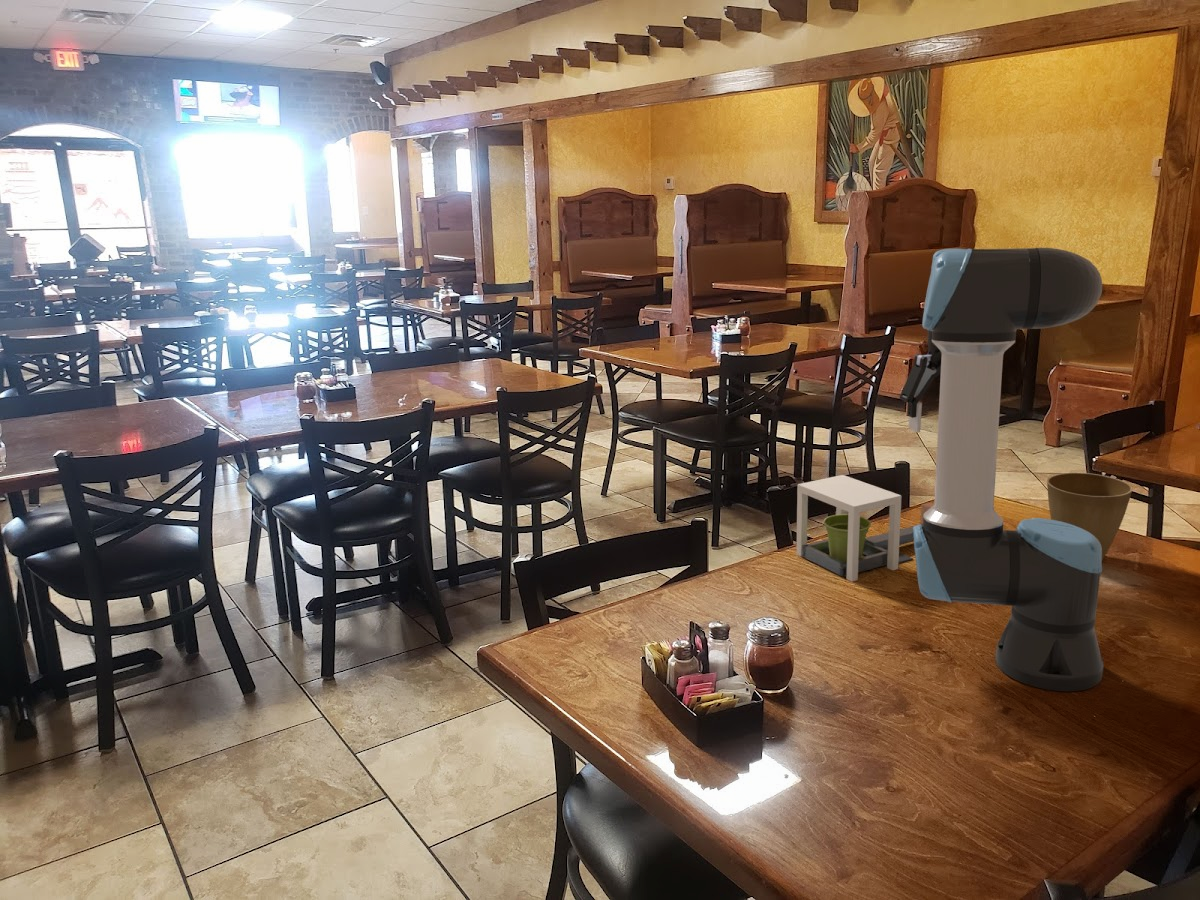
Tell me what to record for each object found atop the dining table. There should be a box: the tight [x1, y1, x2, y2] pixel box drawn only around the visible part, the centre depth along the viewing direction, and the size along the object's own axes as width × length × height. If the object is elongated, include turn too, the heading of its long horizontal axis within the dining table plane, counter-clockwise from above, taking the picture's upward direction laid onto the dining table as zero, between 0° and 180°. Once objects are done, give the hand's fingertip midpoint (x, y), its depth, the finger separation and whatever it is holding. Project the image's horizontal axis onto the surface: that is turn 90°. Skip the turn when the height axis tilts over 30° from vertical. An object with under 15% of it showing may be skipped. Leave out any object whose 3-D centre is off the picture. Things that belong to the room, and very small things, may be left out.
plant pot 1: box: [823, 513, 872, 562], centre depth 187 cm, size 9×9×9 cm
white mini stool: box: [796, 474, 914, 583], centre depth 188 cm, size 17×18×16 cm
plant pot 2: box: [1046, 472, 1133, 561], centre depth 183 cm, size 15×15×16 cm
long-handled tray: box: [801, 502, 934, 578], centre depth 192 cm, size 12×33×6 cm, turn 117°
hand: (940, 423), depth 194 cm, fingers open, 13 cm apart
